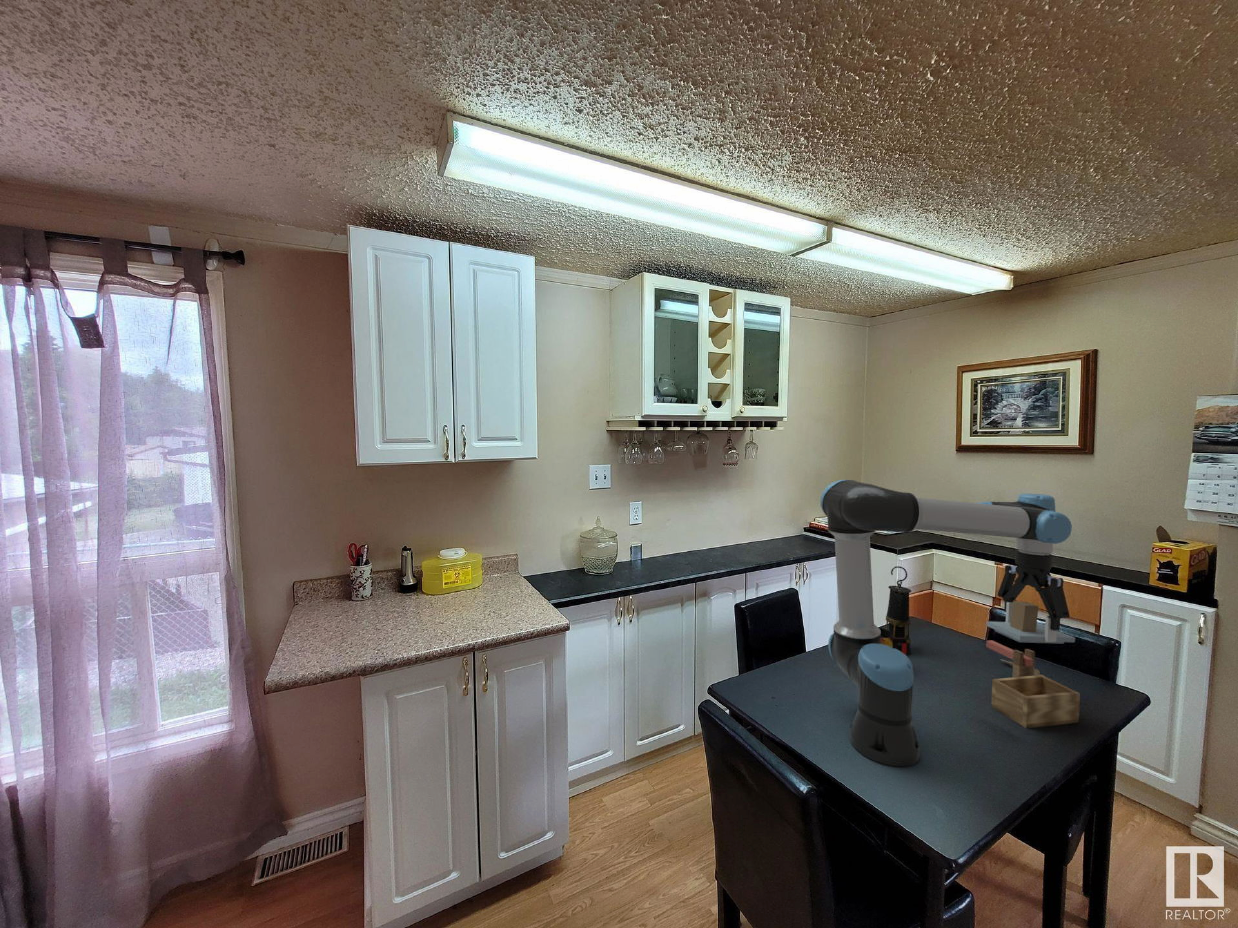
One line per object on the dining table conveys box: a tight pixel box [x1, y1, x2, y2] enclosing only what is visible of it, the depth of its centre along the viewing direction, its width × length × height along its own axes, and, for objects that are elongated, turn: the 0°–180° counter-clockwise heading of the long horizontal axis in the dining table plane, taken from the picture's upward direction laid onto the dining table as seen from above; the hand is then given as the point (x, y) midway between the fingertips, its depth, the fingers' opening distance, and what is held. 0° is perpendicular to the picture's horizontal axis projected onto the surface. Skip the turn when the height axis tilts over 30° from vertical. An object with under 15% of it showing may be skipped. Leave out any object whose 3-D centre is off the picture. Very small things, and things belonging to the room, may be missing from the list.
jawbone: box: [1000, 658, 1042, 676], centre depth 150 cm, size 9×20×2 cm, turn 168°
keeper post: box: [1011, 648, 1036, 678], centre depth 141 cm, size 5×2×13 cm, turn 98°
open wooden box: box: [990, 674, 1081, 729], centre depth 131 cm, size 16×10×8 cm, turn 98°
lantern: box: [885, 565, 912, 656], centre depth 171 cm, size 9×9×30 cm
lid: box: [985, 600, 1076, 645], centre depth 129 cm, size 16×10×9 cm, turn 96°
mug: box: [877, 626, 908, 657], centre depth 159 cm, size 10×14×12 cm
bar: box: [985, 639, 1033, 666], centre depth 145 cm, size 2×13×2 cm, turn 8°
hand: (1029, 632), depth 130 cm, fingers closed on lid, 10 cm apart
